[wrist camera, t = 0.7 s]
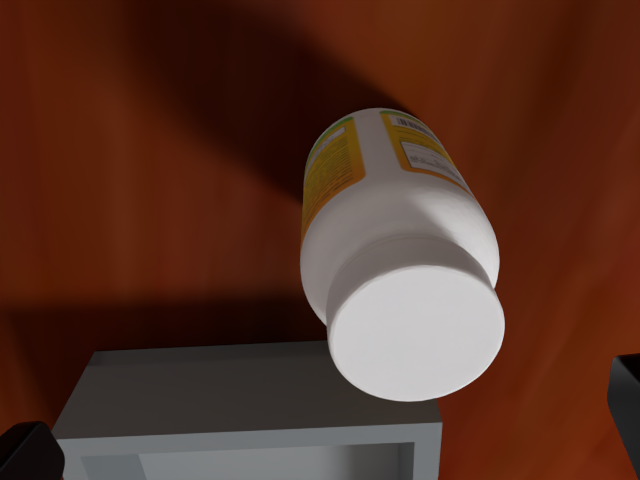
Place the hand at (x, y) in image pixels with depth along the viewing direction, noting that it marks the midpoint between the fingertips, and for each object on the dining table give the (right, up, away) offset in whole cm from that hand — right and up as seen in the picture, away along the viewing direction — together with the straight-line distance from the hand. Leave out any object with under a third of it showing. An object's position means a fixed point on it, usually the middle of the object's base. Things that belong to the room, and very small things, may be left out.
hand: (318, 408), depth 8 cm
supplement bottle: (+2, +5, +12) cm, 13 cm away
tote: (-3, -8, +19) cm, 21 cm away
